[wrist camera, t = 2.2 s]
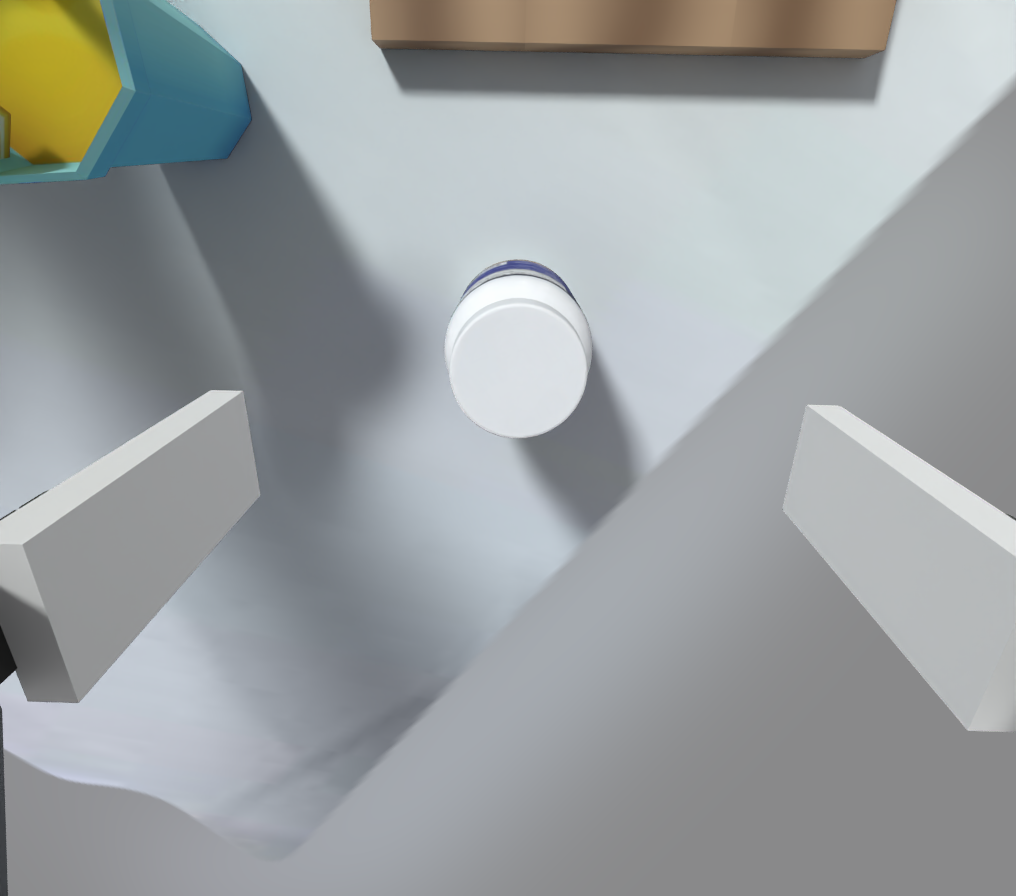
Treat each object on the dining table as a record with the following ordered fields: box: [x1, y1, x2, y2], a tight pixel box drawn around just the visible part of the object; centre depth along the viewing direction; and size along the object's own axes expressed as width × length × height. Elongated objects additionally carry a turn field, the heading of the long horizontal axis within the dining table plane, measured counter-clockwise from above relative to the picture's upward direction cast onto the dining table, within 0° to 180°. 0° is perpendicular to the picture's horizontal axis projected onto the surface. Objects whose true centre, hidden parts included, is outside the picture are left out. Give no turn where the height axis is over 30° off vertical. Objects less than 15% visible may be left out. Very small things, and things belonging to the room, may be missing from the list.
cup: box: [0, 0, 252, 185], centre depth 18 cm, size 14×8×15 cm, turn 160°
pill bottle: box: [444, 259, 592, 438], centre depth 24 cm, size 6×6×10 cm
